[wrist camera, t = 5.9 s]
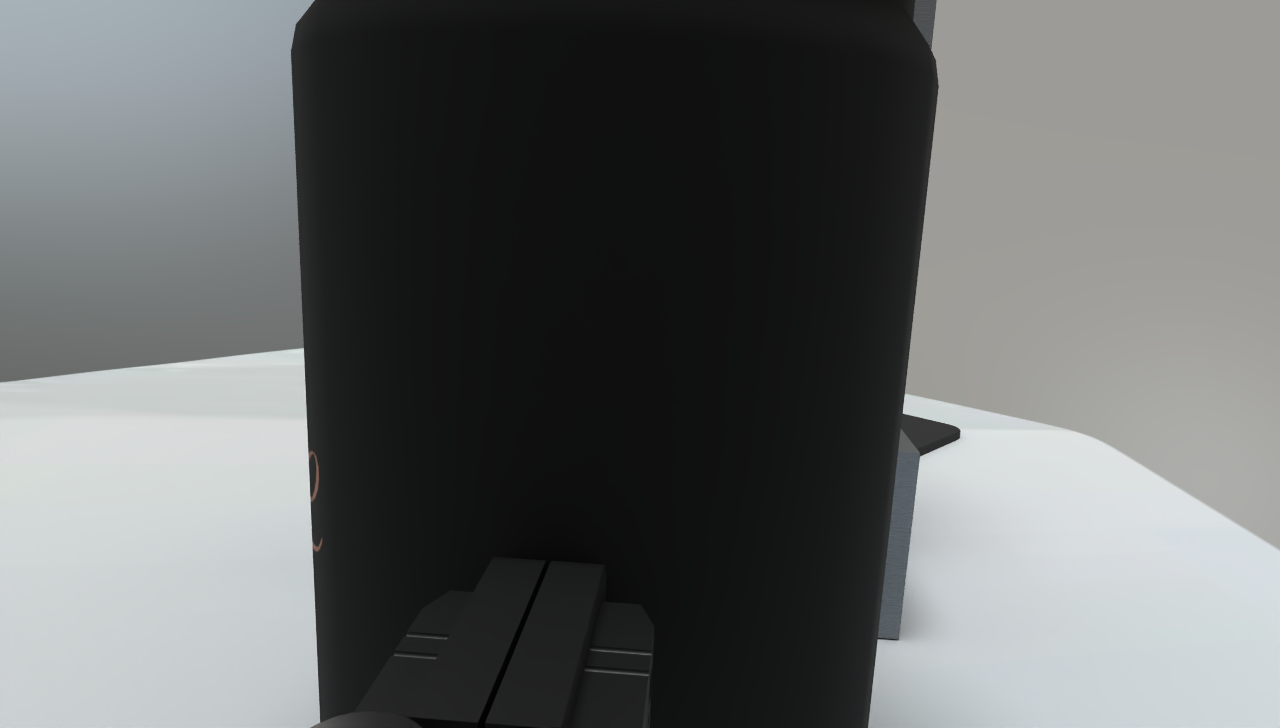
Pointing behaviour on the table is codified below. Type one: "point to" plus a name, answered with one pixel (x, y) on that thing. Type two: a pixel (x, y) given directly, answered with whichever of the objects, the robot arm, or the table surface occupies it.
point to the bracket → (903, 462)
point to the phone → (928, 433)
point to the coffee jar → (614, 324)
